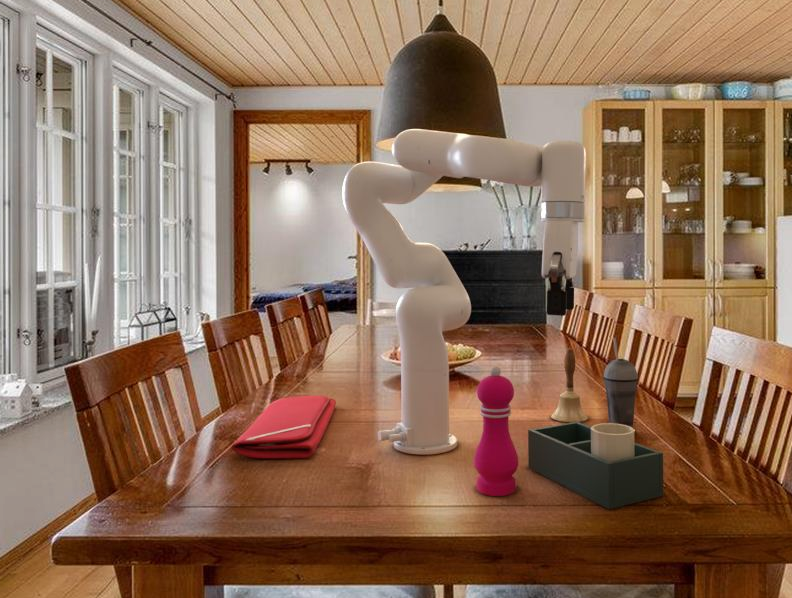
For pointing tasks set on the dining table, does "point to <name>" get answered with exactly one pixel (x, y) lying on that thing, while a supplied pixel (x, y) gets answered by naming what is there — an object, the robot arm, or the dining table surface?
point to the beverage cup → (620, 390)
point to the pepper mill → (495, 437)
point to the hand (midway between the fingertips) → (560, 312)
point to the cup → (612, 441)
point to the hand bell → (569, 396)
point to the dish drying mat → (287, 428)
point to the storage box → (594, 466)
